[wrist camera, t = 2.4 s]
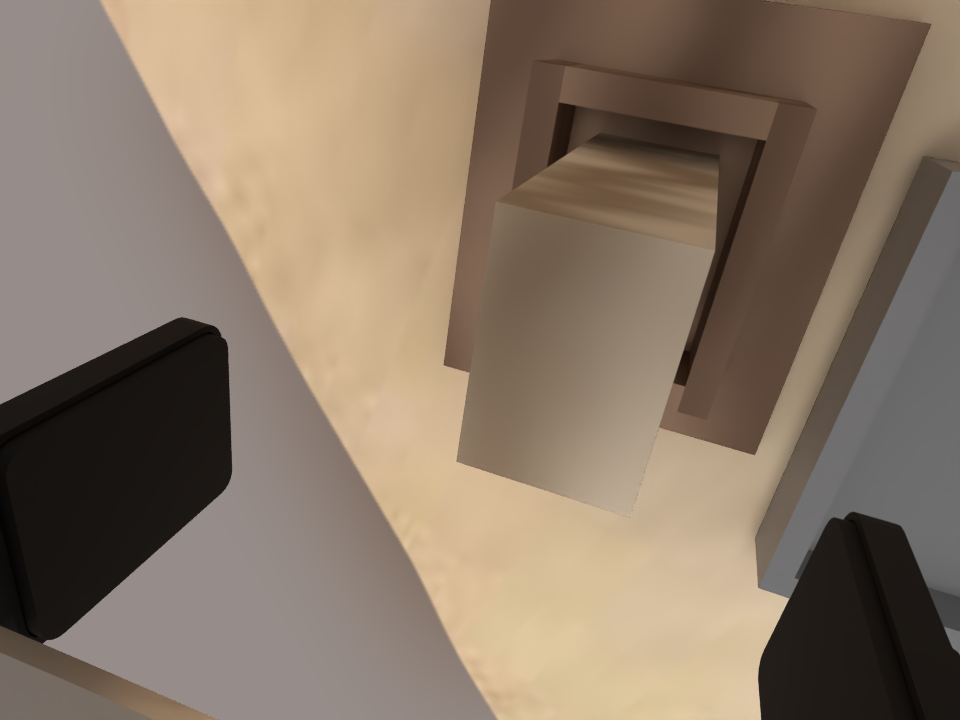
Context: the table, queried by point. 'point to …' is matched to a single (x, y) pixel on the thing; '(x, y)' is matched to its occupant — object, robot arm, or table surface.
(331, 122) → the table surface
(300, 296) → the table surface
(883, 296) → the grey tray
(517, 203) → the birch block
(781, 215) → the walnut stand
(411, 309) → the table surface
